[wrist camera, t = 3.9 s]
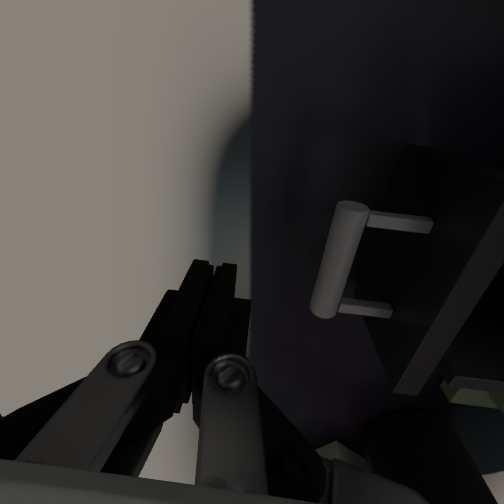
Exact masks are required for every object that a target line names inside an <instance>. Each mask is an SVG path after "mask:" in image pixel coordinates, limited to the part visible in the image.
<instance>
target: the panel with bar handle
mask: <svg viewBox="0 0 504 504" xmlns="http://www.w3.org/2000/svg"><path fill="white" fill-rule="evenodd" d="M365 225H366V226H367V227H375V228H377V230H376V233H375V236H374V239H373V242H372V244H371V247H370V250H369V253H368V256H367V259H366V261H365V264H364V267H363V270H362V273H361V275H360V278H359V281H358V284H357V287H356V289H355V292H354V296H355V298H356V299H349V298H341V296H342V293H343V290H344V287H345V284H346V281H347V278H348V275H349V272H350V269H351V266H352V263H353V260H354V257H355V254H356V251H357V248H358V245H359V242H360V239H361V236H362V233H363V229H364V226H365ZM310 309H311V311H312V312H313V313H314V314H315V315H316V316H318V317H321V318H326V319H327V318H332V317H333V316H335V314H336V311H338V312H342V313H350V314H358V315H362V316H363V318H364V321H365V323H366V326H367V328H368V331H369V333H370V336H371V338H372V341H373V343H374V346H375V348H376V351H377V354H378V356H379V359H380V361H381V364H382V366H383V369H384V371H385V374H386V376H387V379H388V381H389V384H390V386H391V389H392V391H393V393H398V394H406V395H413V396H417V395H418V394H419V392H420V390H421V389H422V387H423V386H424V384H425V383H426V381H427V380H428V378H429V377H430V375H431V374H432V372H433V371H434V369H435V367H436V366H437V368H438V369H439V371H440V373H441V374H442V376H443V378H444V379H445V381H446V383H447V384H448V386H450V387H457V388H464V389H472V390H480V391H488V392H496V393H504V170H497V169H492V168H489V167H486V166H483V165H480V164H477V163H474V162H471V161H468V160H465V159H462V158H460V157H457V156H454V155H451V154H448V153H445V152H442V151H439V150H436V149H433V148H430V147H425V146H416V145H407V146H406V149H405V152H404V155H403V157H402V160H401V163H400V166H399V169H398V172H397V174H396V177H395V180H394V183H393V186H392V188H391V191H390V194H389V197H388V200H387V202H386V205H385V208H384V211H383V212H380V211H372V210H369V208H368V207H367V206H366V205H364V204H361V203H358V202H354V201H339V202H338V203H337V205H336V209H335V212H334V216H333V220H332V224H331V228H330V231H329V235H328V239H327V243H326V247H325V250H324V254H323V258H322V262H321V266H320V269H319V273H318V277H317V281H316V285H315V288H314V292H313V296H312V300H311V304H310Z"/></svg>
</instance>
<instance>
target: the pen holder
mask: <svg viewBox="0 0 504 504" xmlns="http://www.w3.org/2000/svg"><path fill="white" fill-rule="evenodd" d="M367 443H368V448H369V452H370V457H371V462H372V467H373V471H374V474H377V475H380V476H382V477H385V478H387V479H390V480H392V481H395V482H397V483H400V484H402V485H405V486H407V487H409V488H411V489H413V490H414V491H416V492H418V493H419V494H420V495H421V496H422V497H423V498H424V499H425V500H426V501H427V502H428V503H429V504H498V503H497V501H496V500H495V498H494V496H493V494H492V493H491V491H490V489H489V487H488V486H487V484H486V482H485V481H484V479H483V477H482V475H481V474H480V472H479V470H478V469H477V467H476V465H475V463H474V462H473V460H472V458H471V456H470V455H469V453H468V451H467V450H466V448H465V446H464V445H463V443H462V441H461V440H460V438H459V436H458V435H457V433H456V431H455V430H454V428H453V427H452V425H451V424H450V423H449V422H448V421H447V420H446V419H444V418H443V417H441V416H439V415H438V414H435V413H432V412H429V411H423V410H404V411H398V412H393V413H390V414H387V415H385V416H383V417H381V418H379V419H377V420H376V421H375V422H374V423H373V424H372V425H371V426H370V428H369V430H368V433H367Z"/></svg>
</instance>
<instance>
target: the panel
mask: <svg viewBox="0 0 504 504" xmlns="http://www.w3.org/2000/svg"><path fill="white" fill-rule="evenodd" d="M440 386H441V388H442V390H443V392H444V393H445V395H446V397H447V399H448V400H449V402H451V403H458V404H466V405H474V406H482V407H490V408H497V409H499V410H500V411H501V412H502V414H503V415H504V393H496V392H488V391H480V390H472V389H464V388H457V387H450V386H448V384H447V383H446V381H445V379H444V380H443V382H442V383H441V384H440Z"/></svg>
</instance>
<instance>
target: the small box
mask: <svg viewBox="0 0 504 504" xmlns="http://www.w3.org/2000/svg"><path fill="white" fill-rule="evenodd" d="M315 450H316V451H317V453H318V454H319V456H322V457H324V458H327V459H329V460H333V458H337V459H339V460H342V461H344V462H347V463H349V464H352V465H354V466H357V467H359V468H362V469H364V470H367V471H368V468H367V464H366V461H365V459H364V458H363V457H361V456H360V455H358V454H356V453H355V452H353V451H352V450H350V449H349V448H347V447H346V446H344V445H342V444H341V443H339V442H338V441H334V442H331V443H329V444H327V445H325V446H322V447H320V448H318V449H315Z"/></svg>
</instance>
